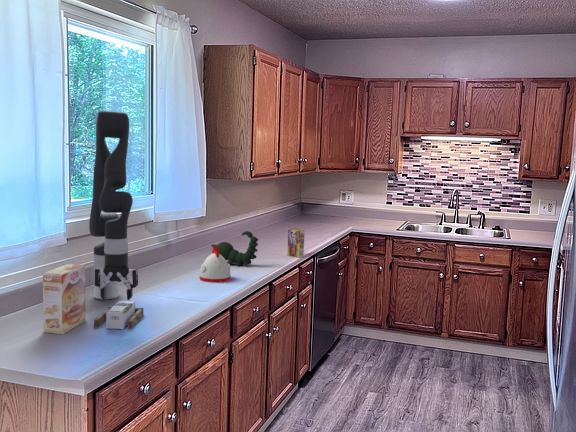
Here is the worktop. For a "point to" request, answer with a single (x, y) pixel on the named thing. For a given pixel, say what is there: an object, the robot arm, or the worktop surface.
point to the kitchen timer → (215, 268)
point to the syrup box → (120, 314)
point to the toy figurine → (234, 255)
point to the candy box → (296, 242)
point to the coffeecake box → (64, 298)
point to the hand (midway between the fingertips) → (116, 299)
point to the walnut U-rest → (131, 321)
